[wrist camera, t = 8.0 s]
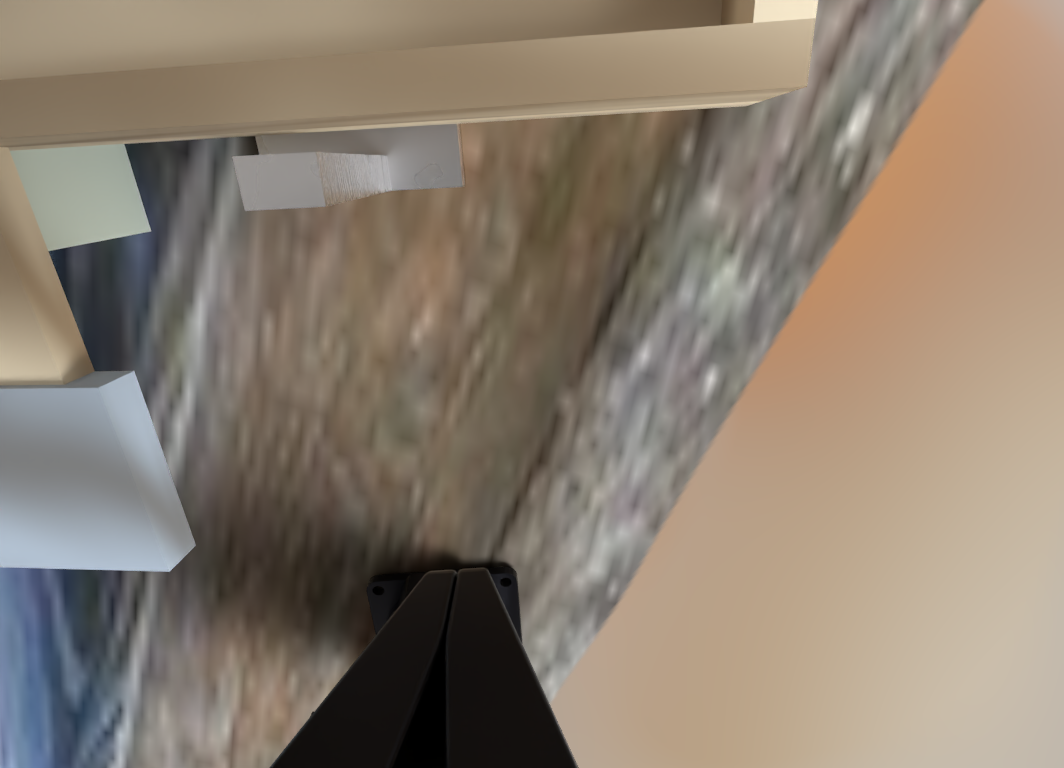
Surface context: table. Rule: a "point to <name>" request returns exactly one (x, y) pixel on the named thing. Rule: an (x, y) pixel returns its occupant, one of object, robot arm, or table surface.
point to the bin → (81, 193)
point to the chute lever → (270, 109)
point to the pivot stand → (348, 165)
